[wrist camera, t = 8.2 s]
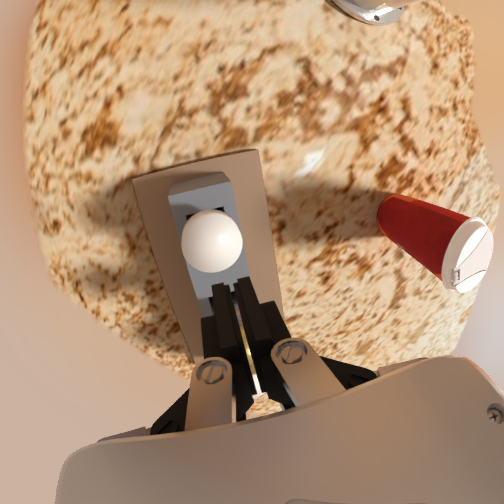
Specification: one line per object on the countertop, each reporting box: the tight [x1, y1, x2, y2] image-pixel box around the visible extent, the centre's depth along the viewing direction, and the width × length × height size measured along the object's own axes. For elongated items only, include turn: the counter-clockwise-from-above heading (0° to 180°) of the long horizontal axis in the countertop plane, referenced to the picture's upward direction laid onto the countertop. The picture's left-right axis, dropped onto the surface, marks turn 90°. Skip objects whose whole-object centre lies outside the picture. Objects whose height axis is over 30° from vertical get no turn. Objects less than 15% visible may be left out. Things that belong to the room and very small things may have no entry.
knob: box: [181, 208, 243, 273], centre depth 25 cm, size 4×4×9 cm
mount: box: [132, 149, 285, 364], centre depth 30 cm, size 26×13×7 cm, turn 10°
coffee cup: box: [377, 194, 493, 293], centre depth 29 cm, size 8×8×15 cm
